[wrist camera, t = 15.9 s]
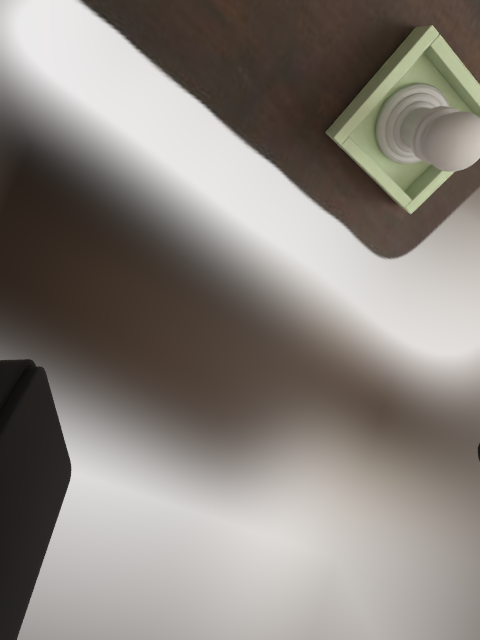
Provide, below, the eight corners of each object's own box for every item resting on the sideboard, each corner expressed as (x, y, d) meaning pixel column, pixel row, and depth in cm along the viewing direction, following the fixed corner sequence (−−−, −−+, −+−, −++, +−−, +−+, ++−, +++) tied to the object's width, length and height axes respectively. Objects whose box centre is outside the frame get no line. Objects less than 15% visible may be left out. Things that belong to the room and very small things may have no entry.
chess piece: (378, 171, 34) (426, 205, 26) (369, 96, 31) (419, 110, 24) (448, 150, 34) (518, 179, 26) (445, 72, 31) (522, 78, 23)
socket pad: (324, 132, 33) (333, 138, 31) (416, 26, 30) (432, 24, 28) (398, 204, 36) (410, 214, 34) (488, 115, 33) (508, 120, 31)
